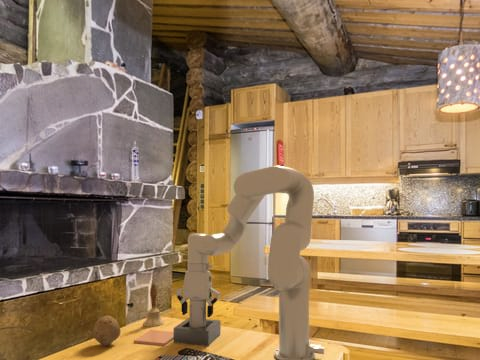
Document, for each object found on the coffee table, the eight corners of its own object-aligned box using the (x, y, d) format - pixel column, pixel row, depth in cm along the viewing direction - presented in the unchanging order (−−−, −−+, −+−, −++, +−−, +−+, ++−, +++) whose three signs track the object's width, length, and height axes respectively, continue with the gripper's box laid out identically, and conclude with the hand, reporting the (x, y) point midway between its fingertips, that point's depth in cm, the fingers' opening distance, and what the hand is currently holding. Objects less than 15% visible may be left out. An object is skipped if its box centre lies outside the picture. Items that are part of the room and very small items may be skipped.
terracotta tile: (179, 334, 144) (179, 332, 144) (165, 345, 132) (165, 343, 132) (150, 332, 147) (150, 329, 147) (133, 342, 135) (133, 340, 136)
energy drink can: (202, 341, 136) (203, 298, 137) (186, 340, 138) (187, 297, 139) (208, 336, 142) (208, 294, 143) (192, 335, 143) (192, 293, 144)
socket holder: (220, 334, 144) (220, 320, 145) (208, 346, 132) (208, 331, 132) (188, 331, 148) (188, 317, 148) (173, 342, 135) (173, 328, 136)
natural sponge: (85, 347, 131) (86, 317, 131) (105, 339, 139) (105, 311, 139) (105, 351, 127) (106, 320, 128) (124, 343, 135) (125, 314, 136)
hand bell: (159, 327, 153) (159, 286, 154) (139, 326, 154) (140, 285, 156) (167, 321, 161) (167, 282, 162) (148, 320, 163) (149, 281, 164)
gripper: (223, 267, 143) (223, 314, 142) (180, 264, 148) (179, 310, 146) (216, 270, 136) (216, 320, 135) (171, 267, 140) (170, 316, 139)
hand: (197, 315), depth 140 cm, fingers open, 9 cm apart
